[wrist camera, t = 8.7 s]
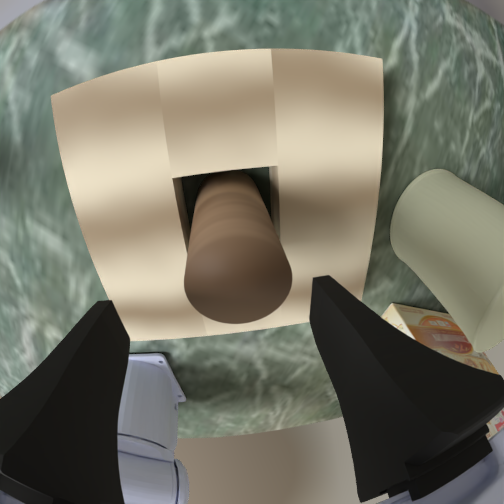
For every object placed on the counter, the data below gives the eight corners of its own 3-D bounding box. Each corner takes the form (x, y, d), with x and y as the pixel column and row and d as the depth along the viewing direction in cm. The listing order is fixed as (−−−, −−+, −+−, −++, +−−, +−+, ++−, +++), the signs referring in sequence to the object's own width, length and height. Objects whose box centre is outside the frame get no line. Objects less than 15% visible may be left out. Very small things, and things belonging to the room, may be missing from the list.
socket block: (344, 288, 23) (358, 312, 21) (136, 314, 22) (129, 341, 19) (357, 62, 14) (382, 58, 11) (74, 93, 13) (50, 95, 10)
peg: (260, 223, 19) (290, 317, 11) (201, 229, 19) (194, 328, 11) (257, 166, 17) (294, 231, 9) (193, 172, 17) (173, 244, 9)
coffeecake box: (458, 314, 29) (529, 422, 13) (427, 350, 32) (484, 457, 16) (392, 299, 25) (487, 467, 8) (354, 347, 28) (418, 504, 12)
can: (475, 191, 20) (565, 258, 9) (433, 270, 24) (502, 354, 14) (419, 149, 17) (547, 220, 7) (370, 251, 21) (454, 363, 11)
